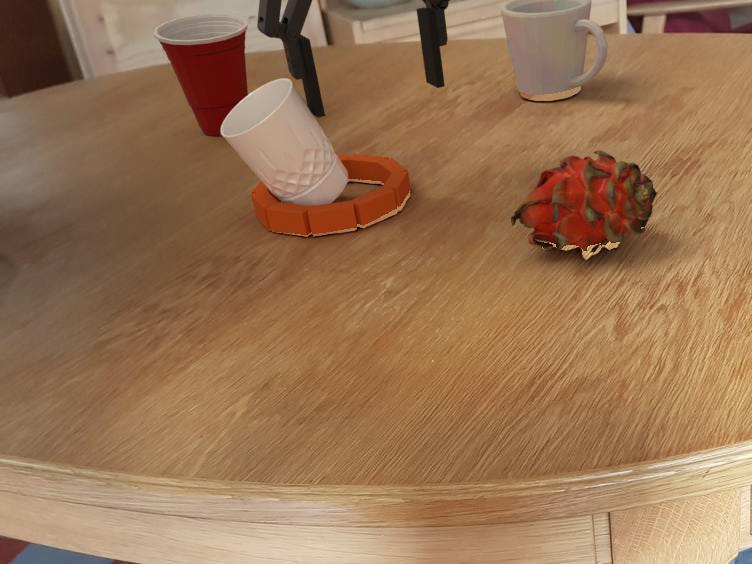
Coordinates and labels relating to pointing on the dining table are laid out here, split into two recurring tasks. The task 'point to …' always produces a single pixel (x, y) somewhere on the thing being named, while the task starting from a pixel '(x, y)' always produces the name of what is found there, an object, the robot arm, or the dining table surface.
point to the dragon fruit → (587, 203)
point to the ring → (339, 213)
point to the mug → (551, 44)
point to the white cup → (285, 145)
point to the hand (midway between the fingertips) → (377, 98)
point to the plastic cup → (208, 63)
